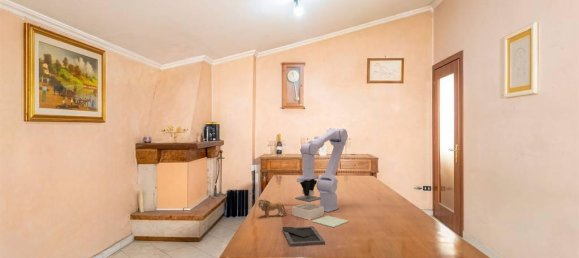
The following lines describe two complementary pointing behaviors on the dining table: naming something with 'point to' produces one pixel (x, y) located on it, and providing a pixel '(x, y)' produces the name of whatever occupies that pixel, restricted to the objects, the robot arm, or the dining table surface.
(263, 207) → the lion figurine
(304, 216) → the tray
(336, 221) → the sage mat
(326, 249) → the dining table surface
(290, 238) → the picture frame
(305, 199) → the grey cover
